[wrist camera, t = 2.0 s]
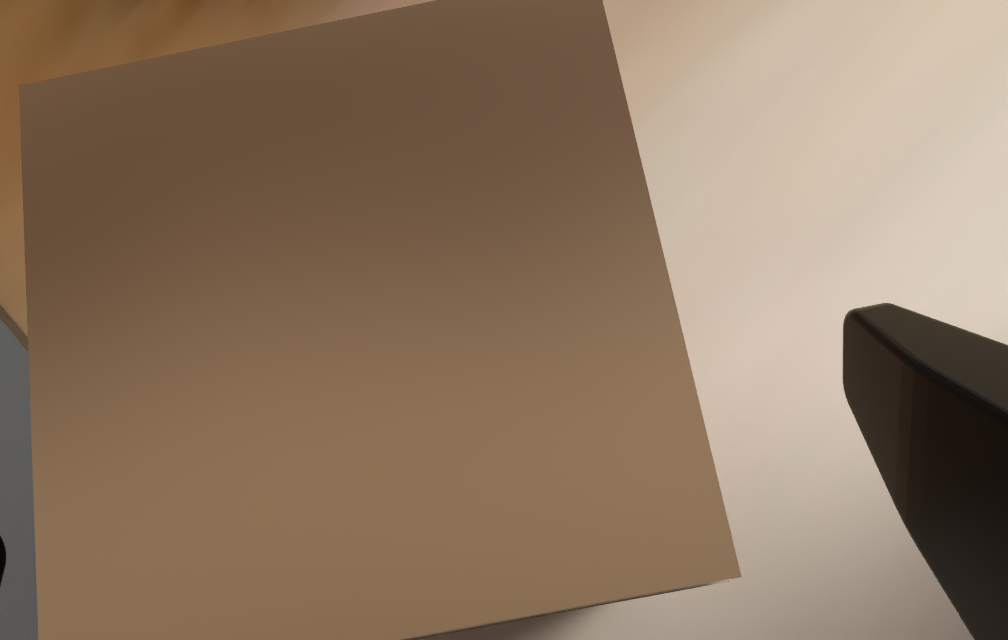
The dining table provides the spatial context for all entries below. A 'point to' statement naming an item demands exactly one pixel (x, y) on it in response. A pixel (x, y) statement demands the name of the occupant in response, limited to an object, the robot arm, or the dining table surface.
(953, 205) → the dining table surface
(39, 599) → the link block
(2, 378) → the keeper
